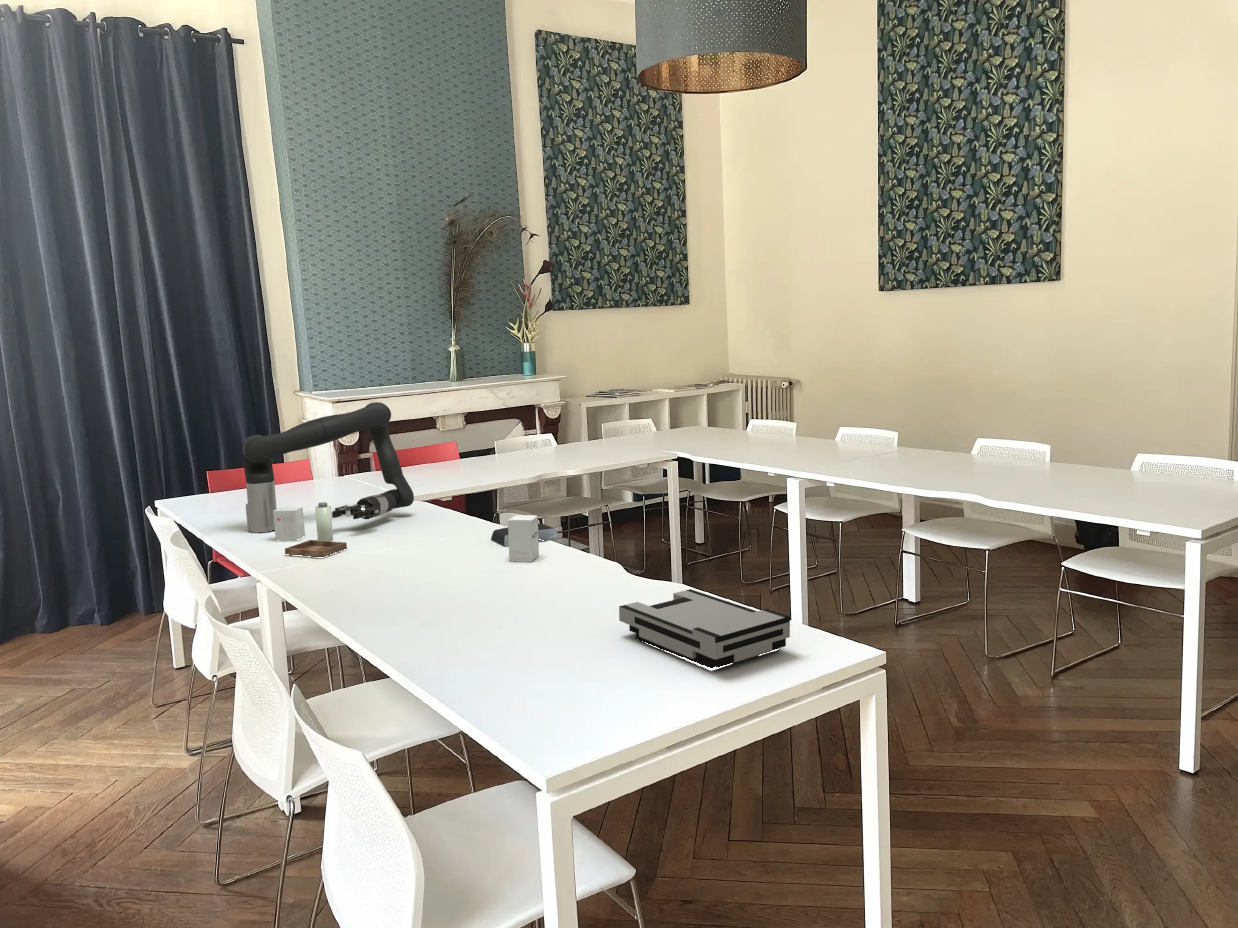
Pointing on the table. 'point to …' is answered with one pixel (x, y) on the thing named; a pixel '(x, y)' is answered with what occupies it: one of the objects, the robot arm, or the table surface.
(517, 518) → the supplement box
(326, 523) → the bottle
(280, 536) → the small box
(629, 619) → the game console
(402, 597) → the table surface
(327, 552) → the tray
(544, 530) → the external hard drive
